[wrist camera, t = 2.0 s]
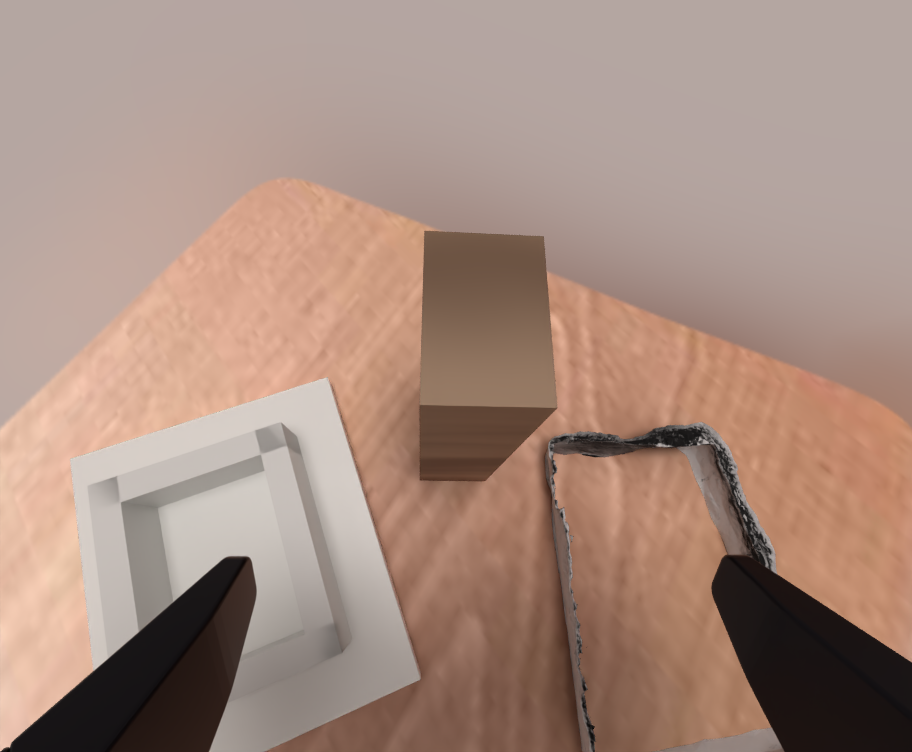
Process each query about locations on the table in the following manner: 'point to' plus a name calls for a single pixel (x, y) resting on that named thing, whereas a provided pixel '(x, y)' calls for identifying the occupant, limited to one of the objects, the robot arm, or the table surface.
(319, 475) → the white recessed tray
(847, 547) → the table surface
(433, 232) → the walnut block
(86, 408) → the table surface
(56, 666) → the table surface
